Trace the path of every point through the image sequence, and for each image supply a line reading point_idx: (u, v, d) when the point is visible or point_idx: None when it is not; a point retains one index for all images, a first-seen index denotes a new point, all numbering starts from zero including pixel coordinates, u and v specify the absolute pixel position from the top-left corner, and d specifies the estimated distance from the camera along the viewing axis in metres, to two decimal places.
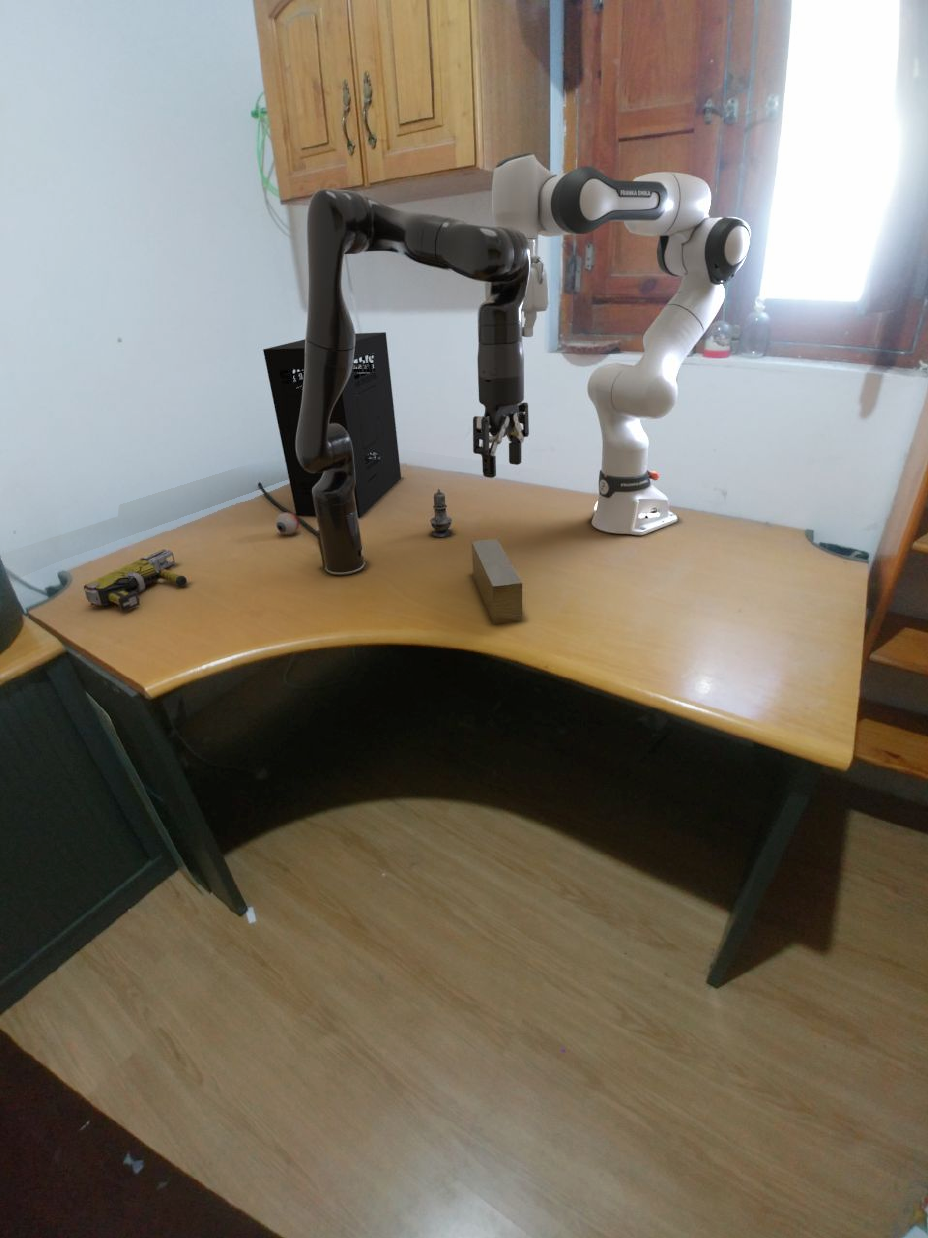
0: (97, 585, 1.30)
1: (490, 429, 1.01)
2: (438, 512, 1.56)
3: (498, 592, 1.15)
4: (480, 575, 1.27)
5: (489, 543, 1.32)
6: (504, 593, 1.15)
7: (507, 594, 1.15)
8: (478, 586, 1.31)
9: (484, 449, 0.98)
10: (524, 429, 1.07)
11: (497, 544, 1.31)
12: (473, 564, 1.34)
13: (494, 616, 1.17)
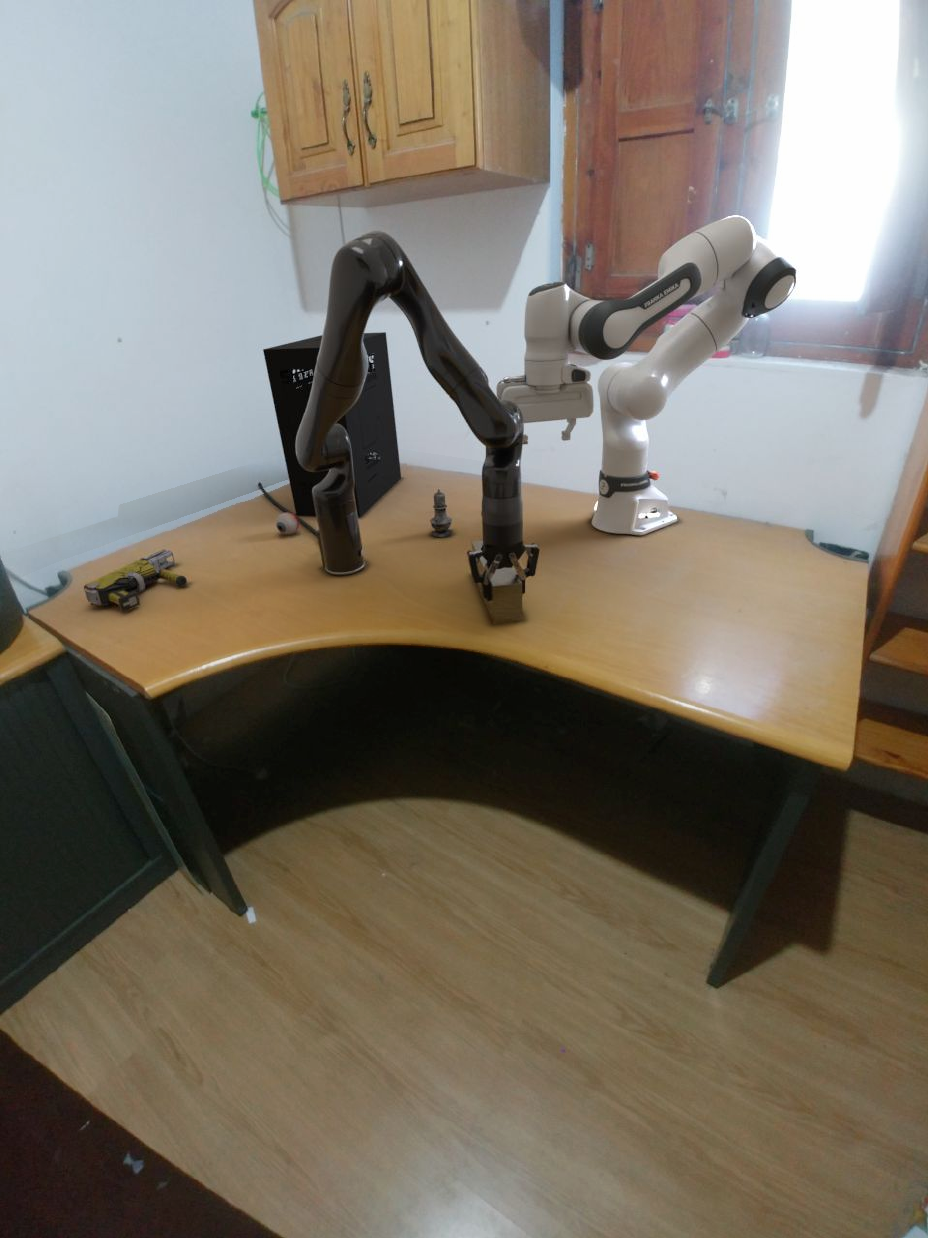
0: (97, 585, 1.30)
1: None
2: (438, 512, 1.56)
3: (498, 592, 1.15)
4: None
5: None
6: (504, 593, 1.15)
7: (507, 594, 1.15)
8: (478, 586, 1.31)
9: None
10: None
11: None
12: None
13: (494, 616, 1.17)
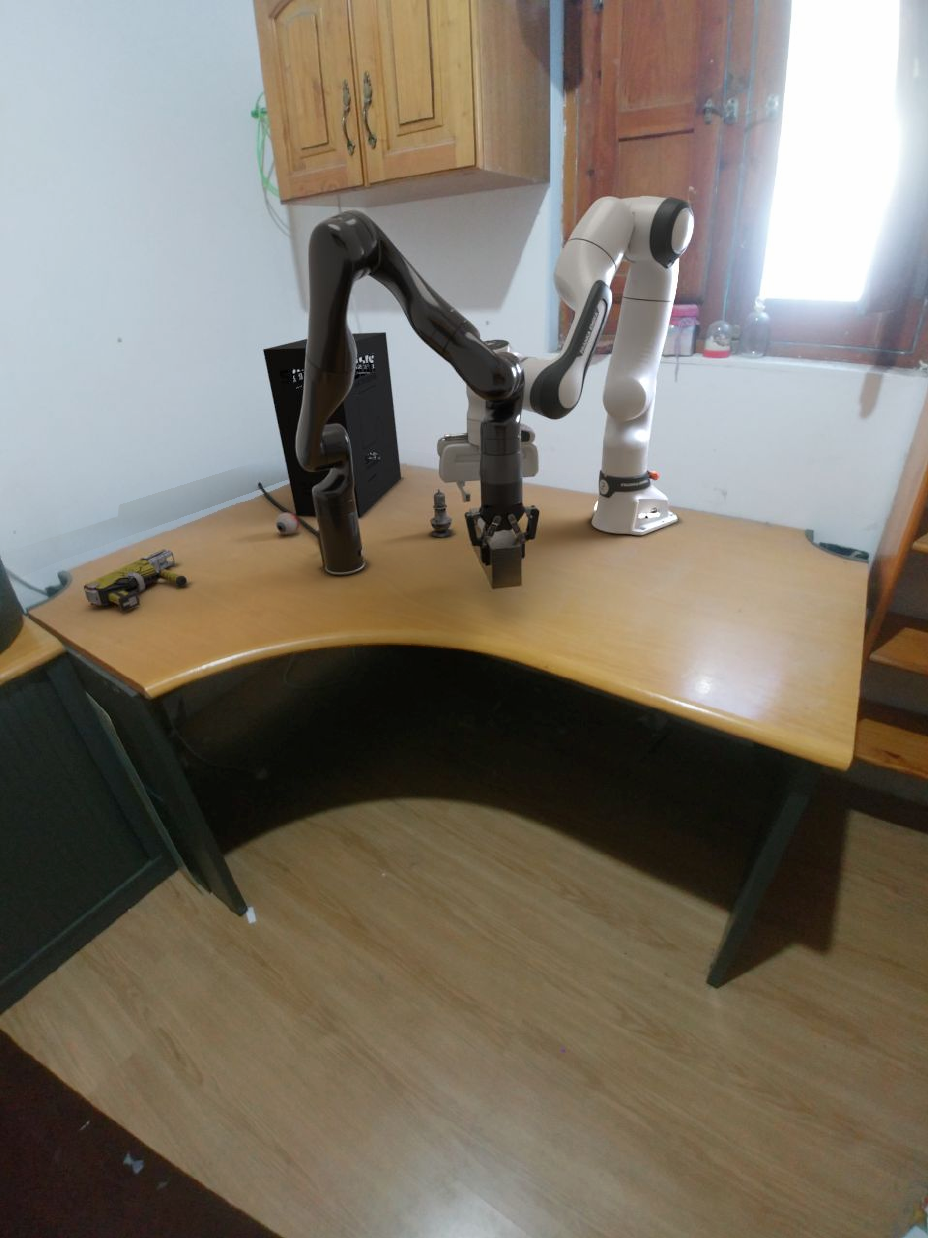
0: (97, 585, 1.30)
1: None
2: (438, 512, 1.56)
3: (497, 555, 1.11)
4: None
5: None
6: (503, 557, 1.11)
7: (506, 557, 1.11)
8: (476, 554, 1.27)
9: None
10: None
11: None
12: None
13: (493, 581, 1.13)
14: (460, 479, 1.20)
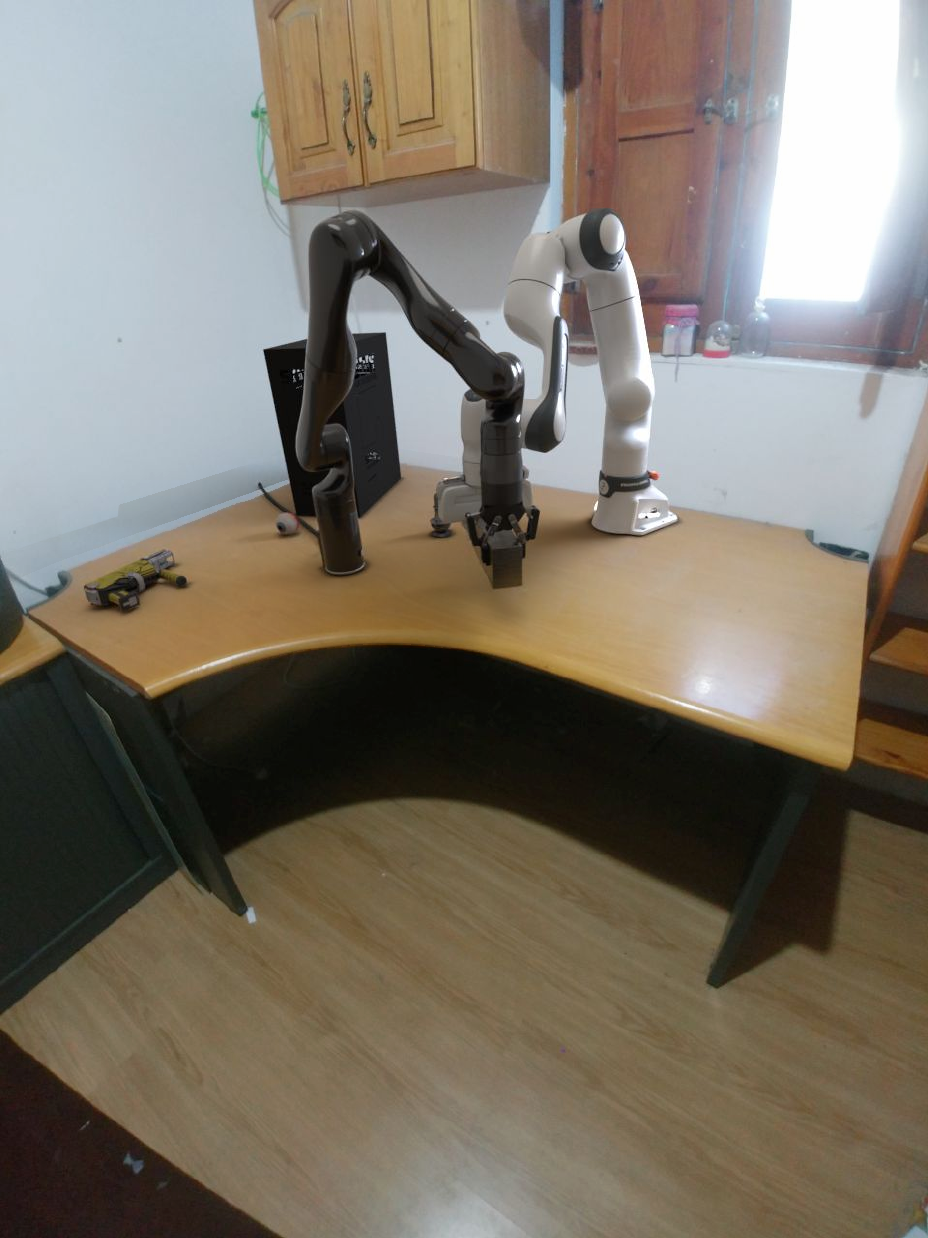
0: (97, 585, 1.30)
1: None
2: None
3: (497, 555, 1.11)
4: None
5: None
6: (503, 557, 1.11)
7: (506, 557, 1.11)
8: (477, 554, 1.27)
9: None
10: None
11: None
12: None
13: (493, 581, 1.13)
14: (460, 519, 1.24)
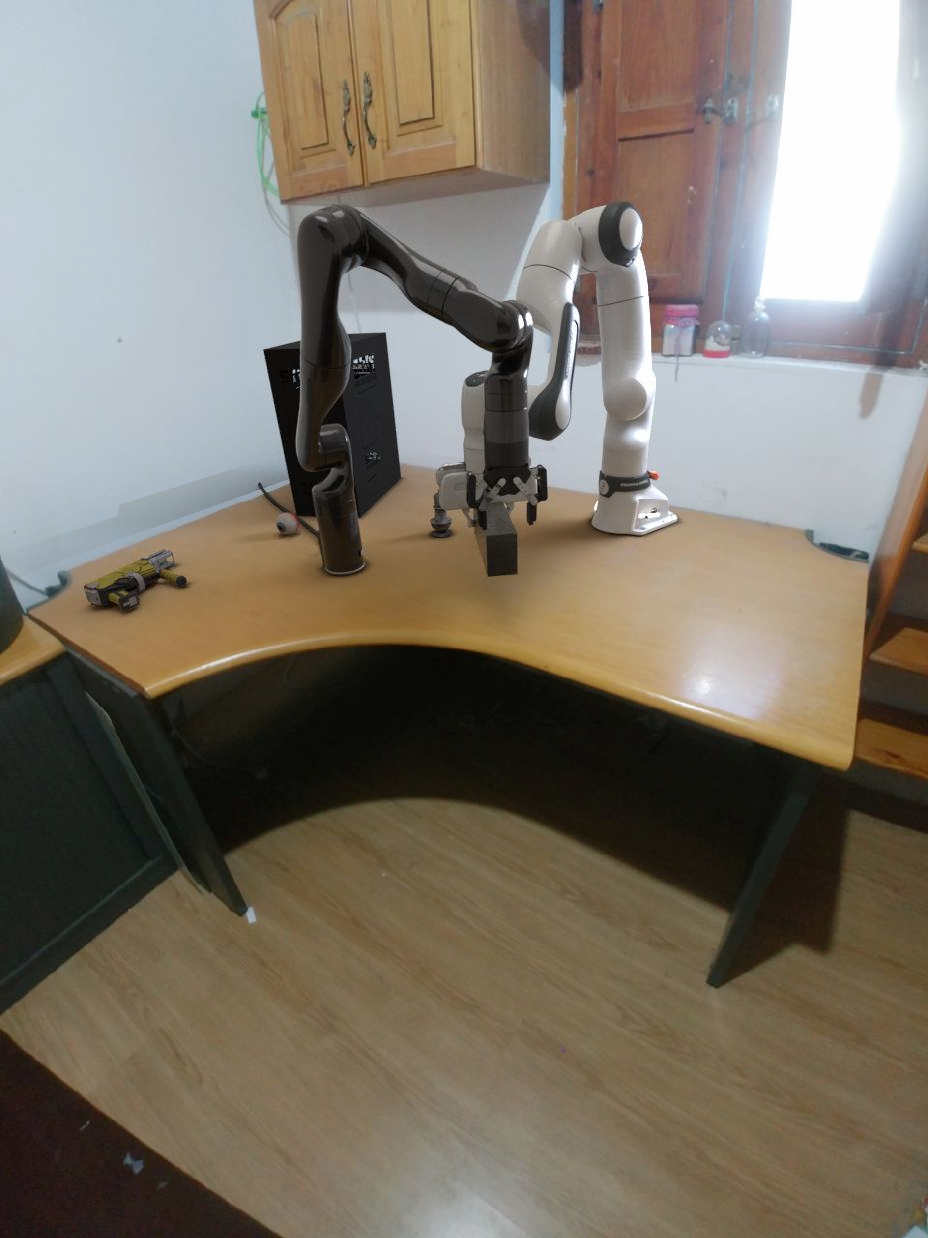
0: (97, 585, 1.30)
1: None
2: (438, 512, 1.56)
3: (492, 542, 1.09)
4: (478, 529, 1.21)
5: None
6: (498, 544, 1.09)
7: (501, 544, 1.09)
8: (477, 542, 1.26)
9: None
10: None
11: None
12: None
13: (488, 568, 1.11)
14: (460, 506, 1.23)
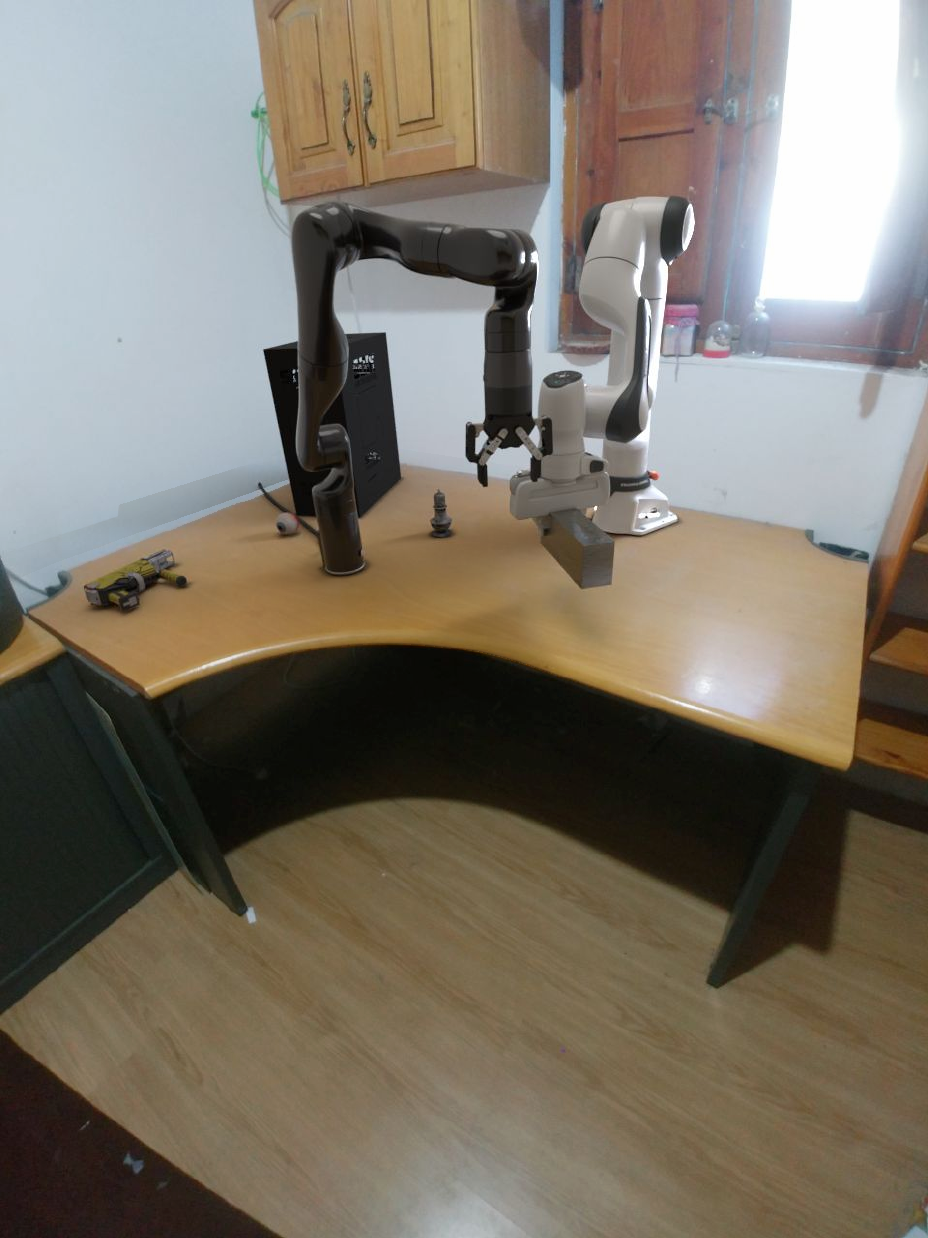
0: (97, 585, 1.30)
1: None
2: (438, 512, 1.56)
3: (588, 552, 1.03)
4: (556, 538, 1.15)
5: None
6: (594, 554, 1.03)
7: (597, 554, 1.03)
8: (550, 552, 1.19)
9: None
10: None
11: None
12: None
13: (582, 580, 1.05)
14: (534, 515, 1.16)
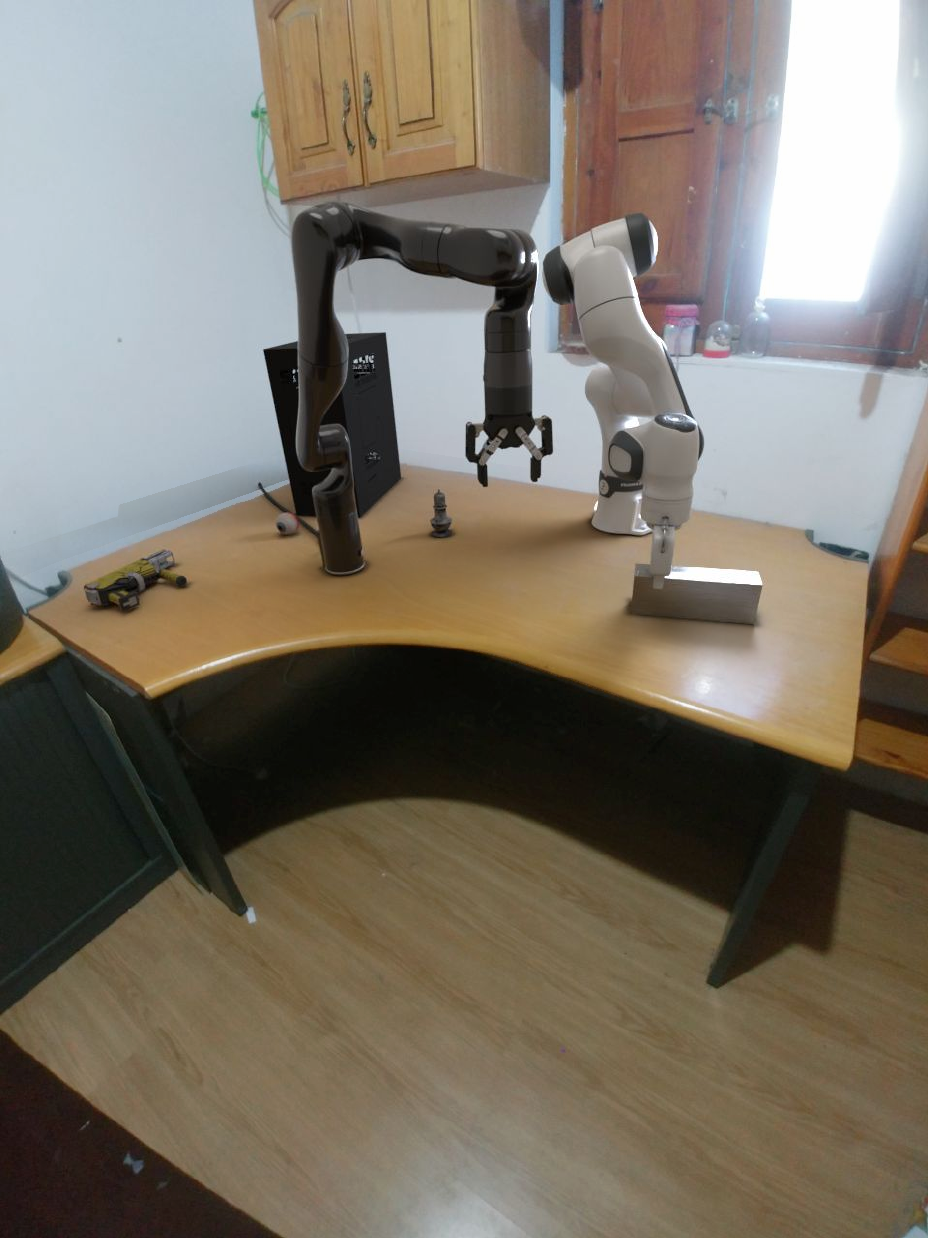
0: (97, 585, 1.30)
1: None
2: (438, 512, 1.56)
3: None
4: (685, 597, 1.14)
5: (646, 568, 1.17)
6: None
7: None
8: (665, 614, 1.17)
9: None
10: None
11: None
12: (638, 599, 1.17)
13: (755, 616, 1.12)
14: None
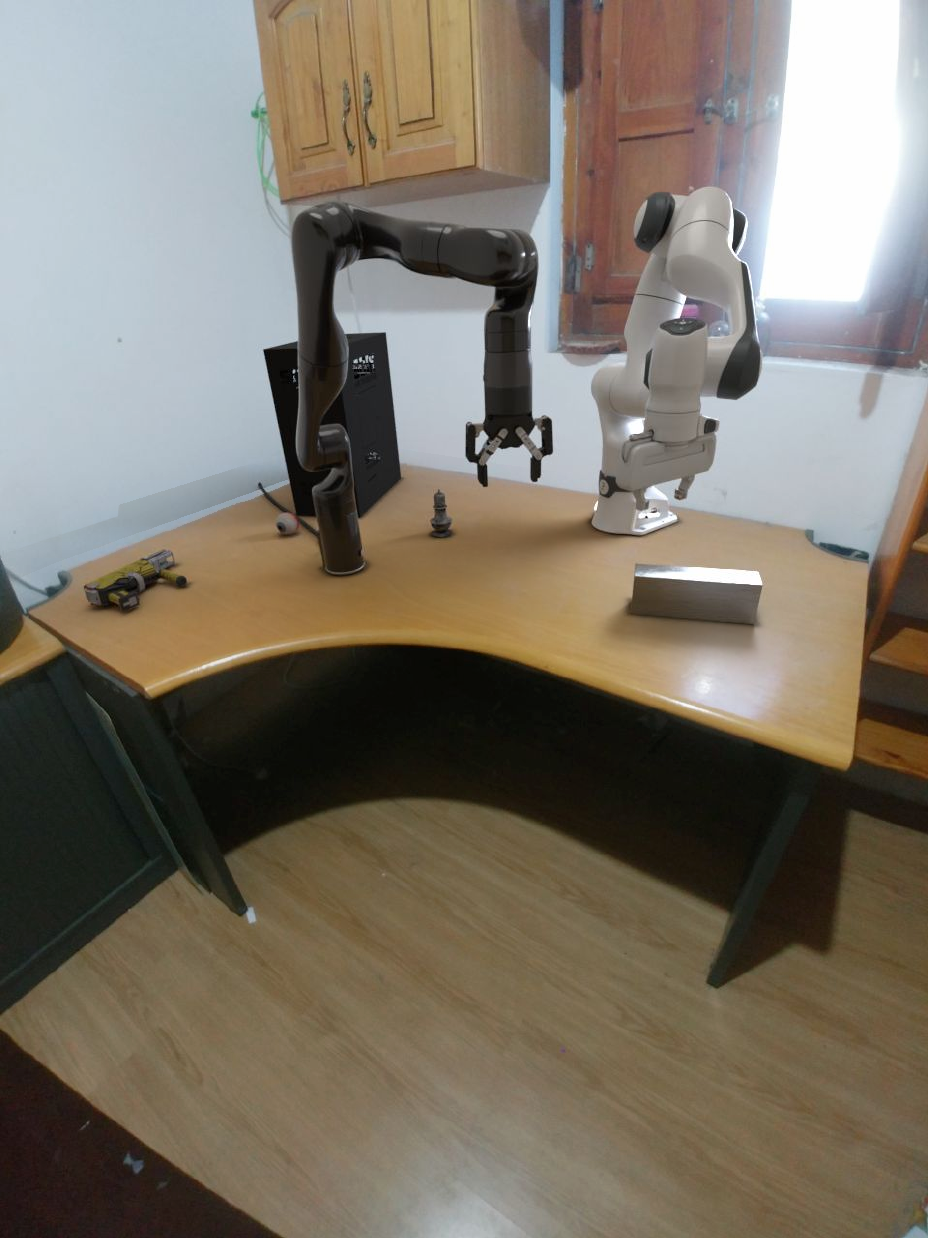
0: (97, 585, 1.30)
1: None
2: (438, 512, 1.56)
3: None
4: (685, 597, 1.14)
5: (646, 568, 1.17)
6: None
7: None
8: (665, 614, 1.17)
9: None
10: None
11: (650, 565, 1.18)
12: (638, 599, 1.17)
13: (755, 616, 1.12)
14: (645, 484, 1.03)
